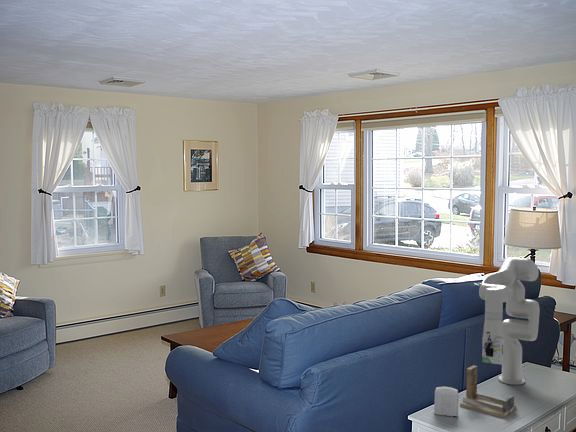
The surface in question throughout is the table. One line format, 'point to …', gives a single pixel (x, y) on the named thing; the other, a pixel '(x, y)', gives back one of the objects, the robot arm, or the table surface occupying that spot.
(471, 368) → the end bracket
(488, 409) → the rail board
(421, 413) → the table surface
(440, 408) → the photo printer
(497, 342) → the ink box
